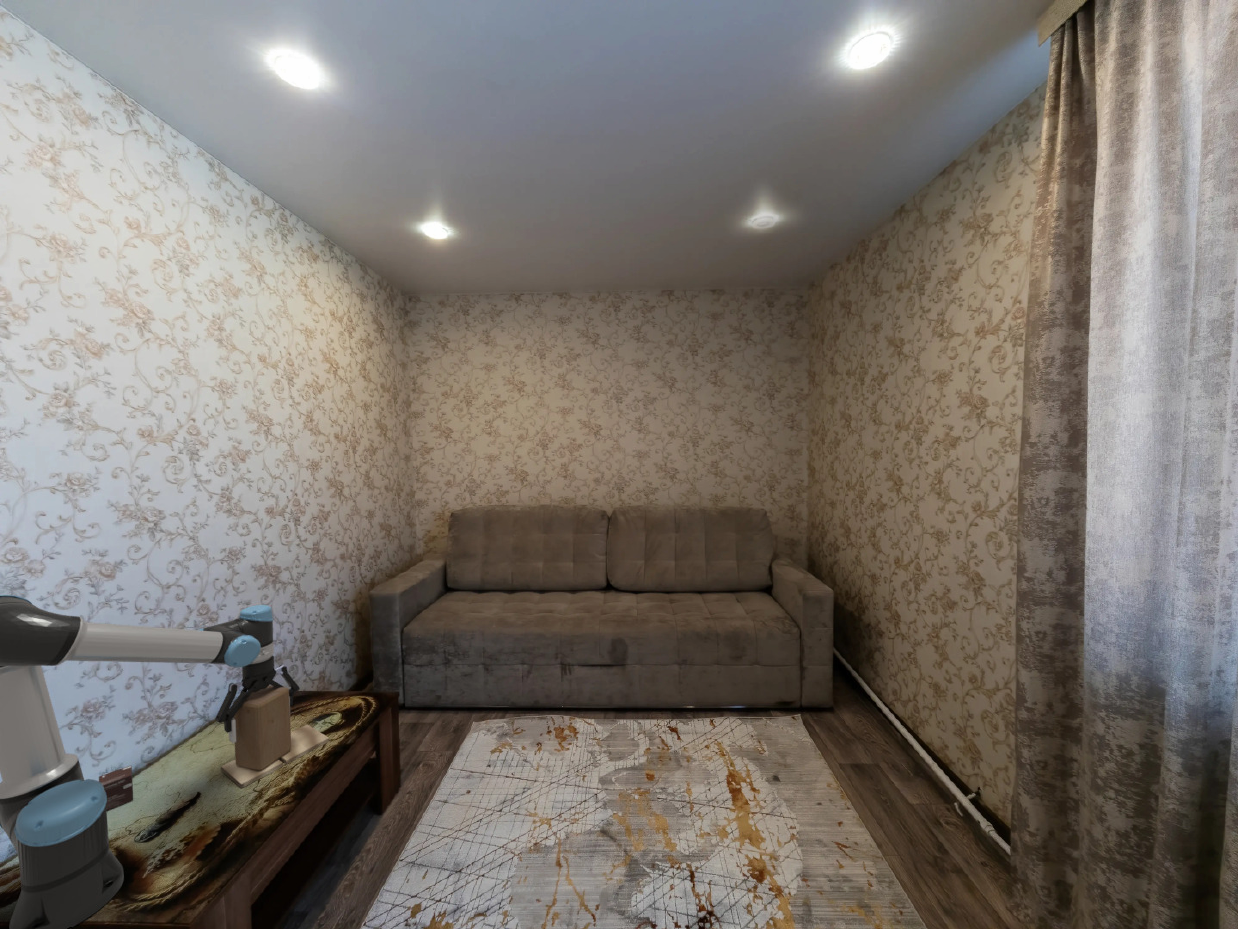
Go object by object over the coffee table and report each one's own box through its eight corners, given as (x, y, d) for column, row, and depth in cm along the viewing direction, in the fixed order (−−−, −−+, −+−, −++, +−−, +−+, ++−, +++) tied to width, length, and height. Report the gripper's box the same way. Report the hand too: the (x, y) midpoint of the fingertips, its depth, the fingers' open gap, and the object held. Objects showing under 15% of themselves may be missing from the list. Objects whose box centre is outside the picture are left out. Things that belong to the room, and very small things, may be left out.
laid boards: (286, 764, 136) (286, 760, 136) (265, 748, 143) (265, 745, 143) (329, 741, 146) (329, 738, 146) (307, 727, 153) (307, 724, 153)
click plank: (241, 788, 127) (241, 784, 126) (221, 770, 134) (220, 766, 134) (282, 766, 135) (282, 762, 135) (261, 750, 142) (261, 747, 142)
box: (99, 815, 118) (97, 787, 118) (100, 802, 122) (98, 776, 122) (133, 801, 123) (131, 775, 122) (133, 789, 127) (131, 764, 127)
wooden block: (260, 772, 131) (257, 704, 130) (234, 767, 133) (230, 700, 132) (293, 749, 141) (290, 686, 140) (267, 745, 143) (264, 683, 142)
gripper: (209, 680, 123) (212, 757, 124) (310, 645, 144) (312, 711, 145) (198, 673, 127) (201, 748, 127) (298, 640, 148) (301, 704, 149)
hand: (260, 728), depth 136 cm, fingers open, 13 cm apart
